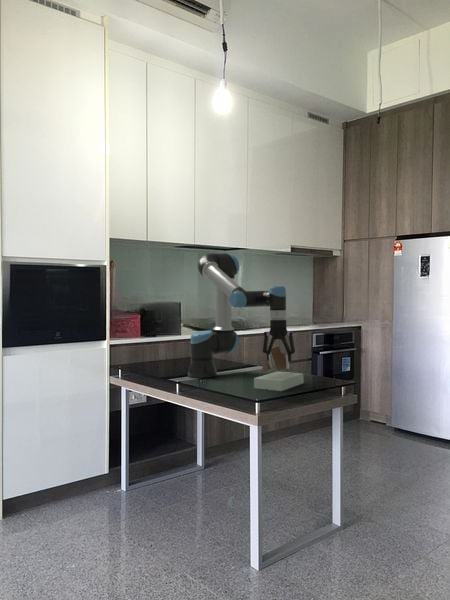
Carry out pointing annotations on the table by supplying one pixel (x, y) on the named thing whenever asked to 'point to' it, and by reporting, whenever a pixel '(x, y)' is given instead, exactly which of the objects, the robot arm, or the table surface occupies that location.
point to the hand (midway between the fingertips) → (279, 368)
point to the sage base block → (278, 381)
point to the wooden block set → (276, 360)
